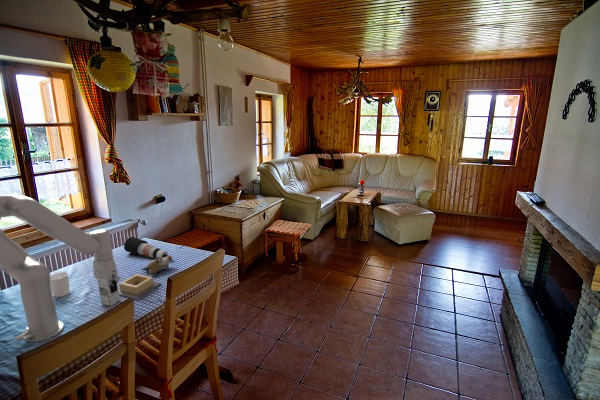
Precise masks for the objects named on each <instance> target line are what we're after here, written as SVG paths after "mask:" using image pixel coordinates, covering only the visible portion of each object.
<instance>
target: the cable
mask: <svg viewBox="0 0 600 400" xmlns="http://www.w3.org/2000/svg"><path fill="white" fill-rule="evenodd" d="M123 249H124V251H125V252H127V253H130V254H133V255H135V256H137V257H139V256H140V257H141V256H146V257H149V258H153V259H156V258H157V257H158V258H161V259H163V258H164V257H167V256H169V261H170V260H172V258H173V256H171V255H168V254H169V253H168V251H167V250H163V249H161V248H159V247H156V246H155V245H154V246H153V245H151V244H149V243H148V241H146V240H144V239H142V238H137V237H134V236H131V237H128V238H127V239H126V240H125V242H124V245H123Z"/></svg>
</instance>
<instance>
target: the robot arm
mask: <svg viewBox="0 0 600 400" xmlns="http://www.w3.org/2000/svg"><path fill="white" fill-rule="evenodd" d="M7 217H15V218H17V219H19V220H20V221H22V222H24V223H25V224H27V225H29V226H31V227H32V228H34V229H35V230H38V231H39V232H41V233H43V234H44V235H46V236H48V237H49V238H52V239H55V240H57V241H59V242H61V243H64V244H65V245H67V246H69V247H70V248H71V249H72V250H74V251H76V252H78V253H80V254H82V255H85V256H91V255H93V261H92V262H93V263H92V264H93V265H92V267H93V276H94V278H95V279H97V277H98V278H100V279H104V280H105V281H109V282H110V285H111V286H110V290H111V293H114V292H116V291H117V290H118V289H119V288H118V289H117V285H118V282H119V281H120V280H121V277H120V276H119V274H118V269H117V264H116V262H115V258H114V254H113V252H114V251H113V247H112V242H111V241H112V240H111V233H110V231H109V229H106V228H102V229H101V228H100V229H95V230H93V231H90V232H89V231H88V232H85V230H83V229H81V228H79V227H78V226H76V225H74V224H73V223H71V222H70V221H69V220H67V219H65V218H64V217H62V215H61V216H60V215H59V214H58V213H56V212H54V211H53V210H51V209H50V208H48V207H47V206H45V205H43V204H42V203H40V202H39V201H37V200H36V199H34V198H32V197H29V196H26V195H22V194H12V195H11V194H7V195H0V221H1V219H2V218H7ZM0 269H1V271H4V272H5V273H6V274H7V275H9V276H10V277H12V278H13V279H14V280H15V281H16V282H18V284H19V287H20V298H21V303H22V306H23V310H24V314H25V318H26V319H25V320H26V323H27V327H25V331H24V332H23V333H22V334H19V335H18V336H15V338H14V339H15V340H14V341H16V342H17V343H18V342H20V341H21V340H23V341H24V342H25V341H28V342H30V343H37V342H38V343H39V342H43V340H44V341H46V339H47V340H49V339H52V338H54V337H55V336H57V335H59V334H60V333H61V332H62V331H63V330H64V327H65V326H64V325H65V324H64V323H63V322H62V321H60V320H59V319H58V314H57V310H56V305H55V300H54V296H53V292H52V290H51V284H50V276H51V272H50V270H49V268H48V267H47V265H45V264H44V263H43V262H42V261H40V260H37V259H36V258H34V257H33V256H32V255H30V253H28V252H27V251H26V250H25V249H24V247H23V246H22V245H21V244H19V243H18V242H16V241H15V240H13V239H12V238H11V237H9V236H8V234H6V233H5V232H4V230H2V229H1V228H0ZM112 277H113V278H112ZM112 280H114V281H113V282H112ZM53 336H54V337H53ZM51 337H52V338H51ZM48 338H49V339H48Z"/></svg>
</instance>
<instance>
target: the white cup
mask: <svg viewBox="0 0 600 400" xmlns="http://www.w3.org/2000/svg"><path fill="white" fill-rule="evenodd" d="M50 284H51V290H52V295H53V298H61V297H64V296H67V295H68V294H69V293H70V292H71V290H70V280H69V273H68V272H67V271H64V272H63V271H61V272H60V271H59V272H56V273H54V274H53V273H52V274H50Z"/></svg>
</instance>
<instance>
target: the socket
mask: <svg viewBox="0 0 600 400" xmlns="http://www.w3.org/2000/svg"><path fill="white" fill-rule="evenodd" d="M161 285H162V283H161V282H160V281H154V277H151V276H149V275H144V274H138V273H136V274H134V275H132V276H131V277H129V278H126V279H125V280H124V281H123V280H122V281H121V282H119V285H118V286H119V287H118V291H119V297H123V298H127V299H130V298H134V299H133V301H135V300H136V301H138V300H139V299H141V298H143V297H144V296H145V295H148V294H149V293H150V292H152V291H154V290H155V289H156V288H158V287H160V286H161ZM129 297H130V298H129Z"/></svg>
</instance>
